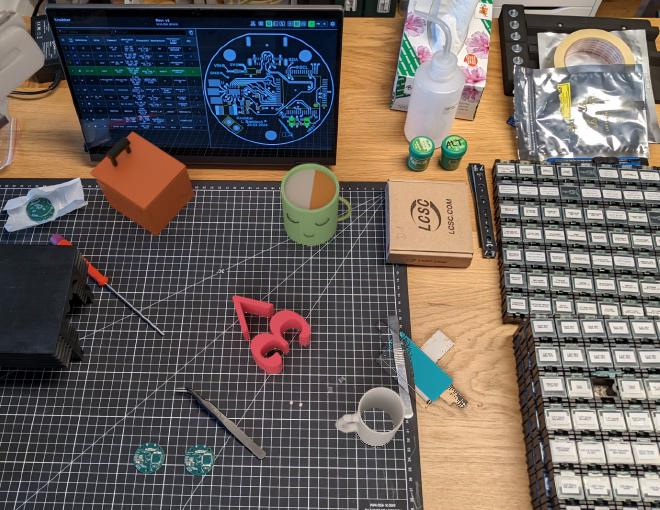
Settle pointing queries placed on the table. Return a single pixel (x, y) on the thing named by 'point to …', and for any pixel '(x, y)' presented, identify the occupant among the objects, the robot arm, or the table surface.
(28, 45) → the robot arm
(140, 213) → the parts case
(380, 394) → the mug
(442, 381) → the phone stand
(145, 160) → the case lid
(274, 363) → the red number figure
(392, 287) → the table surface
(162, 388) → the table surface
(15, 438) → the table surface
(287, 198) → the mug
